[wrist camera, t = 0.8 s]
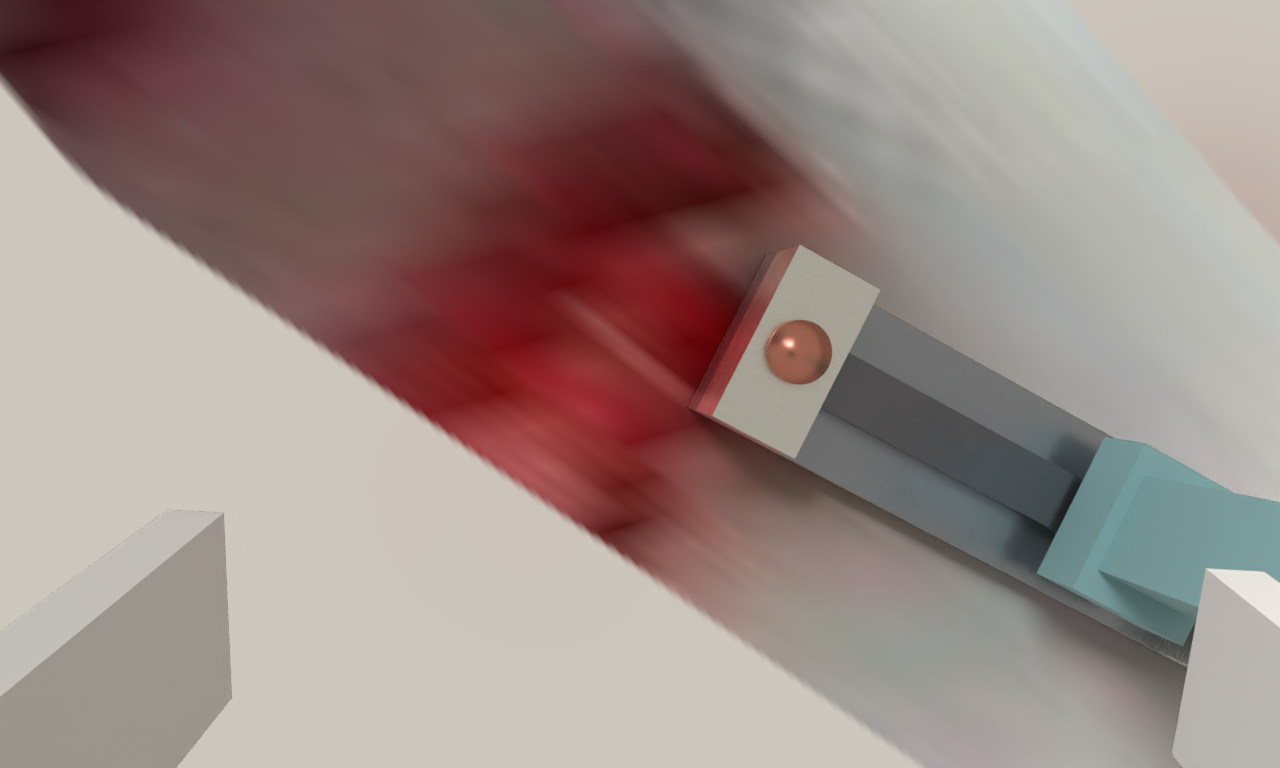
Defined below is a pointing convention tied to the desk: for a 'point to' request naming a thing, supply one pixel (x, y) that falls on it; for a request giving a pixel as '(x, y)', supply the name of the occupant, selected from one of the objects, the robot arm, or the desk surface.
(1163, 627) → the carriage
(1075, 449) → the rail
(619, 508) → the desk surface
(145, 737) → the robot arm
